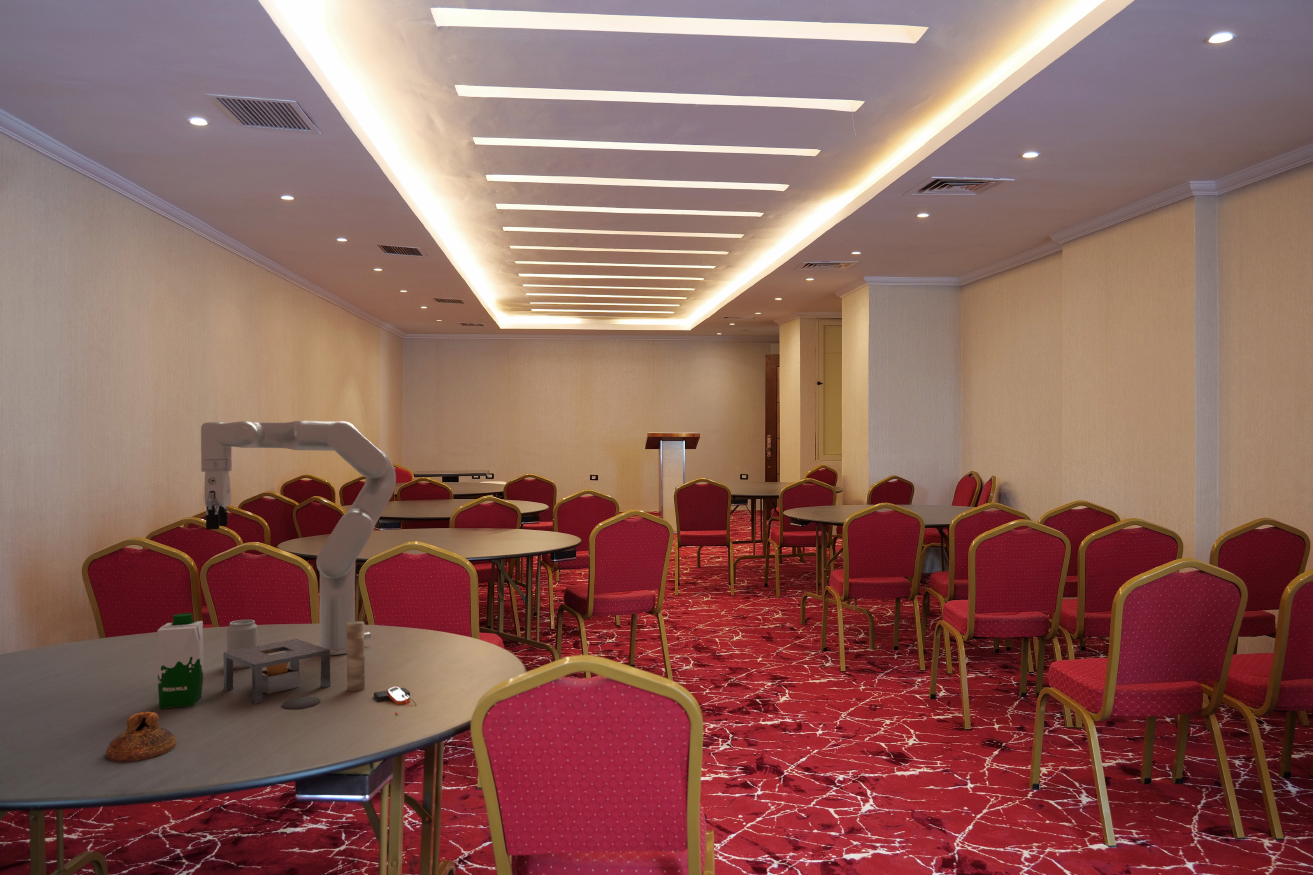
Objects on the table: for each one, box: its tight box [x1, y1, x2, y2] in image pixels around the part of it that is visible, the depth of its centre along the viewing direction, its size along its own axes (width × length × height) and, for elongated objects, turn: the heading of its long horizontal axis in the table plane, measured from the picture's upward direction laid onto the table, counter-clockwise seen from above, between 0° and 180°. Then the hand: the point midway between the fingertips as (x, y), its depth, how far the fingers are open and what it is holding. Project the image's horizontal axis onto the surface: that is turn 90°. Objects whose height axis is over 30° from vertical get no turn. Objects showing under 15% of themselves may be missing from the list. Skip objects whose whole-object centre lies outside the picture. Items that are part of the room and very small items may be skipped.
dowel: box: [346, 620, 366, 692], centre depth 202 cm, size 4×4×16 cm
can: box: [226, 619, 259, 670], centre depth 225 cm, size 8×8×12 cm
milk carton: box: [157, 612, 204, 710], centre depth 192 cm, size 9×9×20 cm
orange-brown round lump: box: [265, 662, 289, 676], centre depth 204 cm, size 5×5×4 cm
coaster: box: [281, 696, 321, 710], centre depth 191 cm, size 8×8×1 cm
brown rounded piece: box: [105, 711, 177, 763], centre depth 162 cm, size 12×12×7 cm
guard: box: [223, 638, 331, 705], centre depth 204 cm, size 18×18×9 cm
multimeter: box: [373, 685, 417, 716], centre depth 191 cm, size 18×12×3 cm, turn 26°
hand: (217, 527), depth 232 cm, fingers open, 9 cm apart
